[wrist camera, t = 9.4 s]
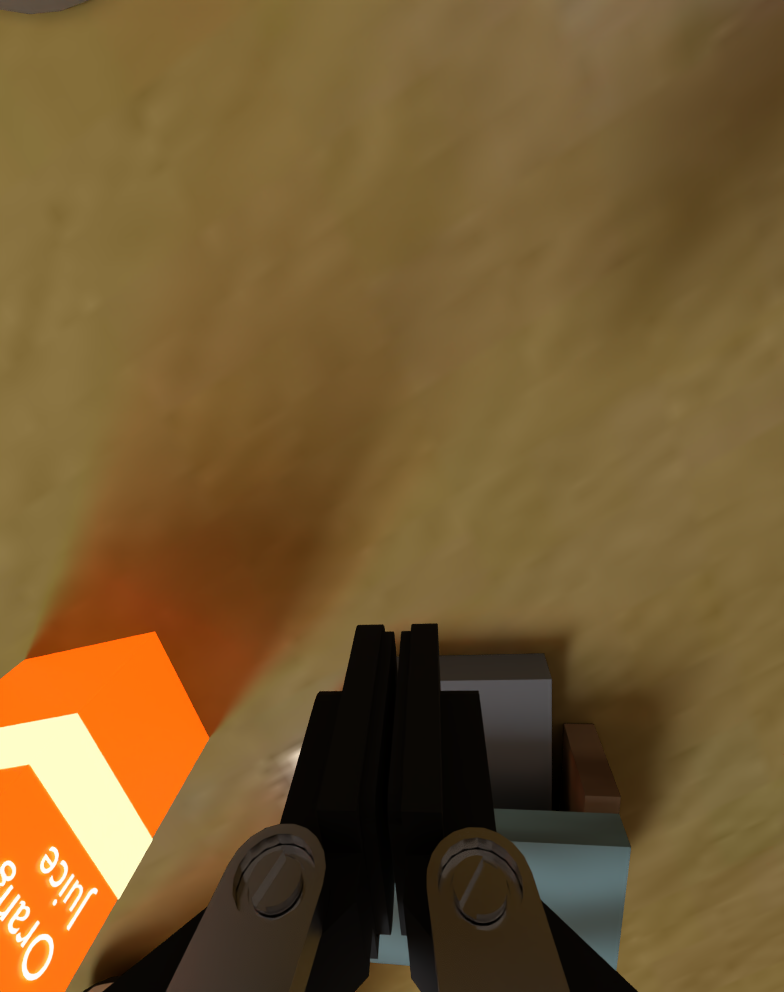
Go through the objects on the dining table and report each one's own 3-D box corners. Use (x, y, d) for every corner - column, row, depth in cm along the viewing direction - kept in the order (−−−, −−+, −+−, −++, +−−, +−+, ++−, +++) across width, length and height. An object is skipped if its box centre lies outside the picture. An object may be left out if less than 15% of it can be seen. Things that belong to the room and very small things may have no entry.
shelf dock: (313, 718, 27) (281, 814, 22) (593, 724, 26) (633, 829, 20) (335, 863, 31) (312, 975, 26) (582, 877, 29) (612, 1001, 24)
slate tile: (368, 651, 26) (360, 682, 24) (542, 647, 25) (551, 679, 23) (395, 840, 31) (390, 881, 28) (543, 845, 29) (551, 888, 27)
